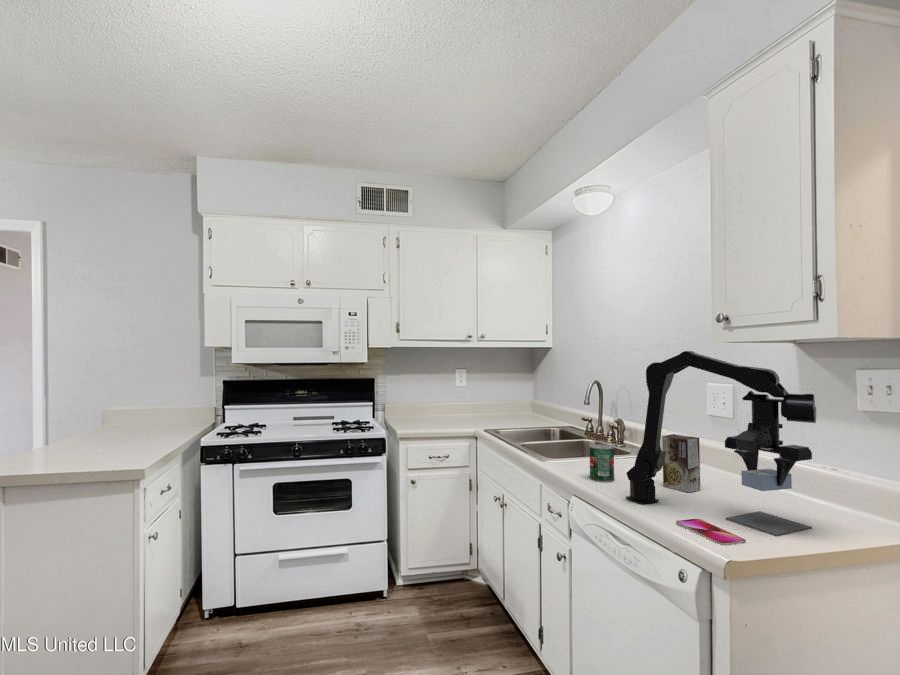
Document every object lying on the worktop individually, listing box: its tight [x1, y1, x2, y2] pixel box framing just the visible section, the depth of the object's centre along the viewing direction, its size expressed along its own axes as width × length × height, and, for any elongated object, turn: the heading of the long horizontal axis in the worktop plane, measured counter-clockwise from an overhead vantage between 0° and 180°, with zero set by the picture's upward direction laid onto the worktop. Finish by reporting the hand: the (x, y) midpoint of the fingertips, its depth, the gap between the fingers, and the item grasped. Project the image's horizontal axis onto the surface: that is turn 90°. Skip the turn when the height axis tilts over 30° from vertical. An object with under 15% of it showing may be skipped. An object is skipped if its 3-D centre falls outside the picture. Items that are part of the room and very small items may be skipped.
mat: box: [725, 510, 813, 537], centre depth 125 cm, size 13×13×1 cm
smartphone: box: [675, 518, 747, 546], centre depth 119 cm, size 7×1×15 cm
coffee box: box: [661, 433, 701, 493], centre depth 158 cm, size 9×6×16 cm
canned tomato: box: [589, 443, 615, 483], centre depth 169 cm, size 8×8×11 cm
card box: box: [741, 468, 793, 492], centre depth 125 cm, size 9×6×4 cm, turn 105°
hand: (766, 482), depth 125 cm, fingers closed on card box, 6 cm apart
